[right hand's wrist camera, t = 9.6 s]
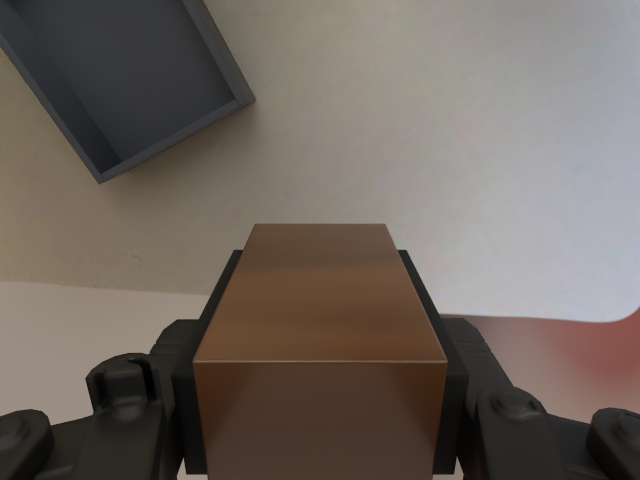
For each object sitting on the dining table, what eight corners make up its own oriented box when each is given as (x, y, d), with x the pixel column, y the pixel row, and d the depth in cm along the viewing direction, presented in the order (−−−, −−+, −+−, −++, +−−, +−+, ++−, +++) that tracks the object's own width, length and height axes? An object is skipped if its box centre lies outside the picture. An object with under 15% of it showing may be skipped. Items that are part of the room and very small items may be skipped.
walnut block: (254, 223, 14) (190, 361, 7) (385, 223, 14) (449, 361, 7) (261, 334, 16) (214, 536, 9) (379, 334, 16) (425, 536, 9)
